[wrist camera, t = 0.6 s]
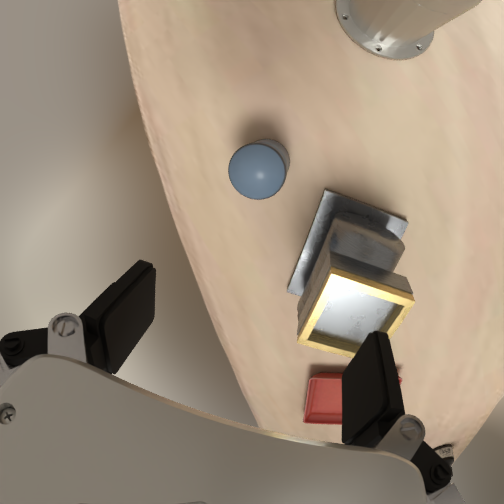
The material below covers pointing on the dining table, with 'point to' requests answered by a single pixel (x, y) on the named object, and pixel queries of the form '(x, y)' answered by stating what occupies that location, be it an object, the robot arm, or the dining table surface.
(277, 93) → the dining table surface
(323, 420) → the plant saucer
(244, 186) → the blue rounded cylinder
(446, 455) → the ink bottle
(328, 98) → the dining table surface
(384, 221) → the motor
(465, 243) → the dining table surface
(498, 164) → the dining table surface
